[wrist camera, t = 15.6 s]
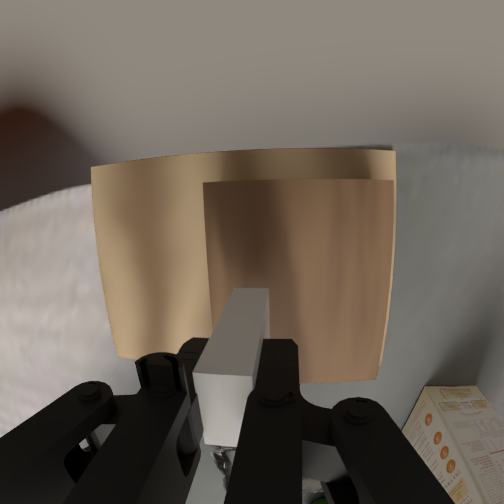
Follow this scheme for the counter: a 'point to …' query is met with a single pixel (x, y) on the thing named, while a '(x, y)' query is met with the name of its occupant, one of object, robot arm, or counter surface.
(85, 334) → the counter surface
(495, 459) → the coffeecake box
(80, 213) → the counter surface
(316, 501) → the bell pepper
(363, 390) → the counter surface
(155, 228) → the light wood board
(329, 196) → the walnut slab
